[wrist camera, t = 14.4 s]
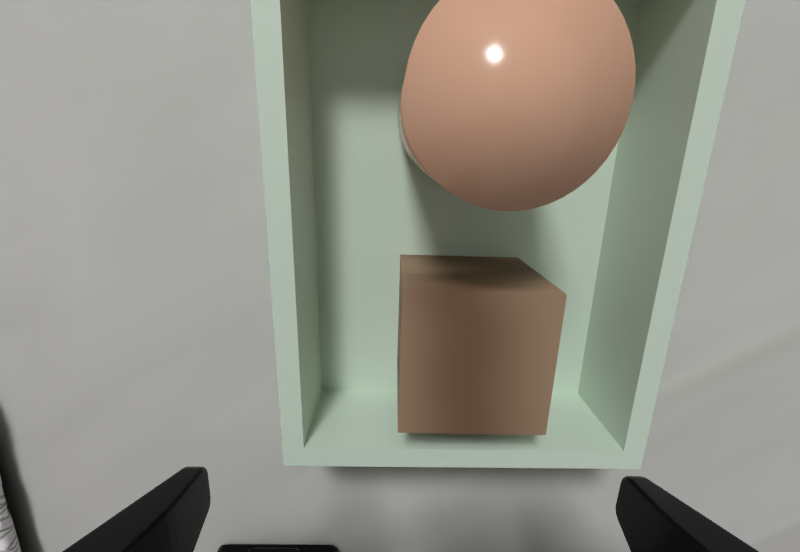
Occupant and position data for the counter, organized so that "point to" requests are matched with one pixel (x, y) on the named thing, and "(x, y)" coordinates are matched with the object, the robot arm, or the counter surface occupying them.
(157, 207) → the counter surface
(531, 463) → the box
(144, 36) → the counter surface
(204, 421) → the counter surface
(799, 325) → the counter surface
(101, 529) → the robot arm
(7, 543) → the cookie jar
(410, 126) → the egg
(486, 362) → the walnut cube
